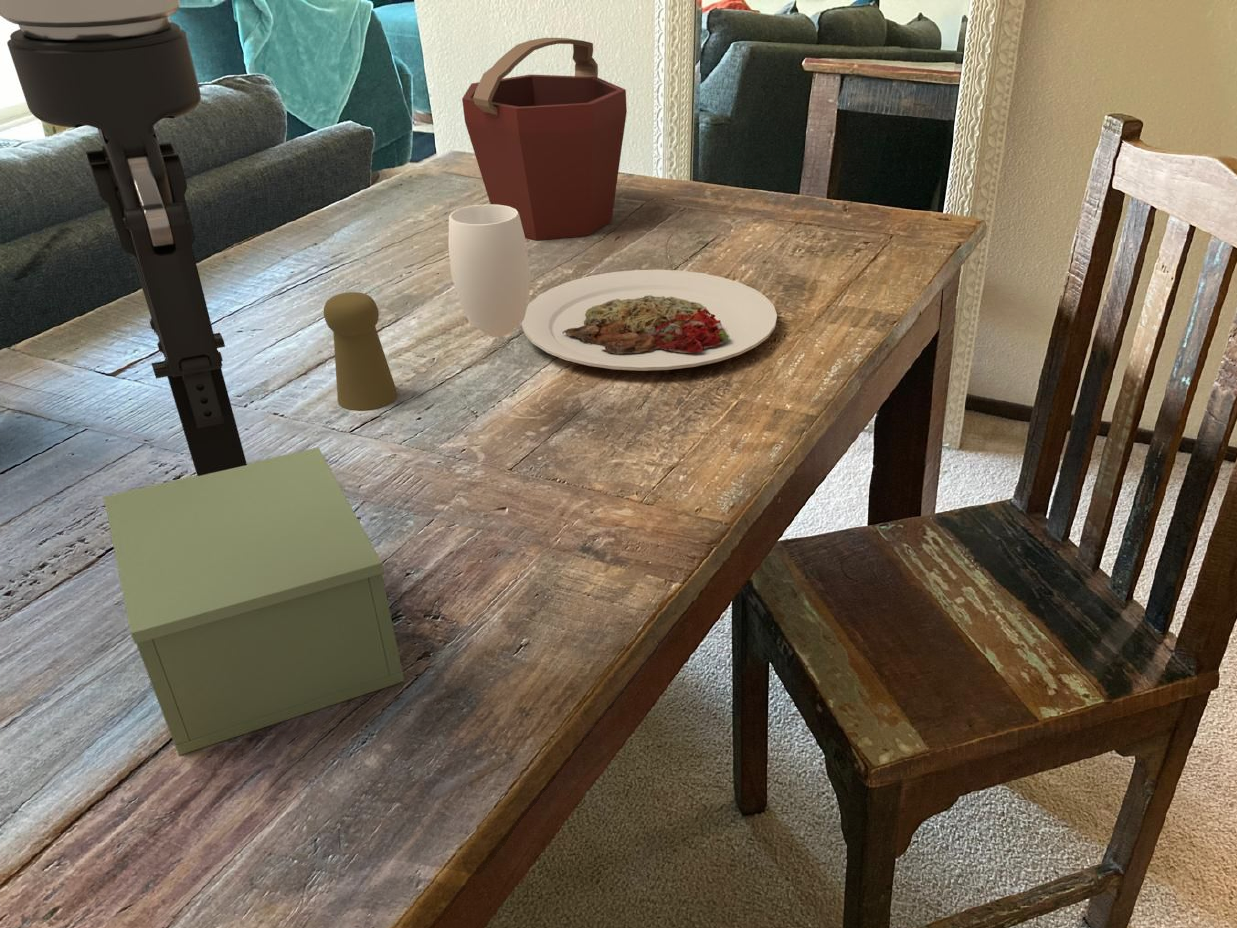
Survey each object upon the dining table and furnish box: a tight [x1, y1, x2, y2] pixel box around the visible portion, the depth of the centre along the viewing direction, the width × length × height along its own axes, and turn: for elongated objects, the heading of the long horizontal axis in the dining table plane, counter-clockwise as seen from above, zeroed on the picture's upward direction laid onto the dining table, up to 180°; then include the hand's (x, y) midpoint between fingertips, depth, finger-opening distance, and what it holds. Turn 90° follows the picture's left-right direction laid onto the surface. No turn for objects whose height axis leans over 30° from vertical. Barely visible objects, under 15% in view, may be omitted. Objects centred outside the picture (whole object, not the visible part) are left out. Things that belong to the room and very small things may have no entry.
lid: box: [103, 447, 385, 645], centre depth 74 cm, size 18×15×1 cm
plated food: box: [520, 269, 778, 372], centre depth 129 cm, size 30×30×3 cm
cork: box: [323, 291, 399, 411], centre depth 111 cm, size 6×6×11 cm
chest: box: [136, 573, 405, 756], centre depth 77 cm, size 17×15×10 cm
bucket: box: [461, 37, 628, 241], centre depth 156 cm, size 24×22×25 cm
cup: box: [447, 203, 531, 338], centre depth 105 cm, size 7×7×21 cm
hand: (220, 464), depth 64 cm, fingers closed
